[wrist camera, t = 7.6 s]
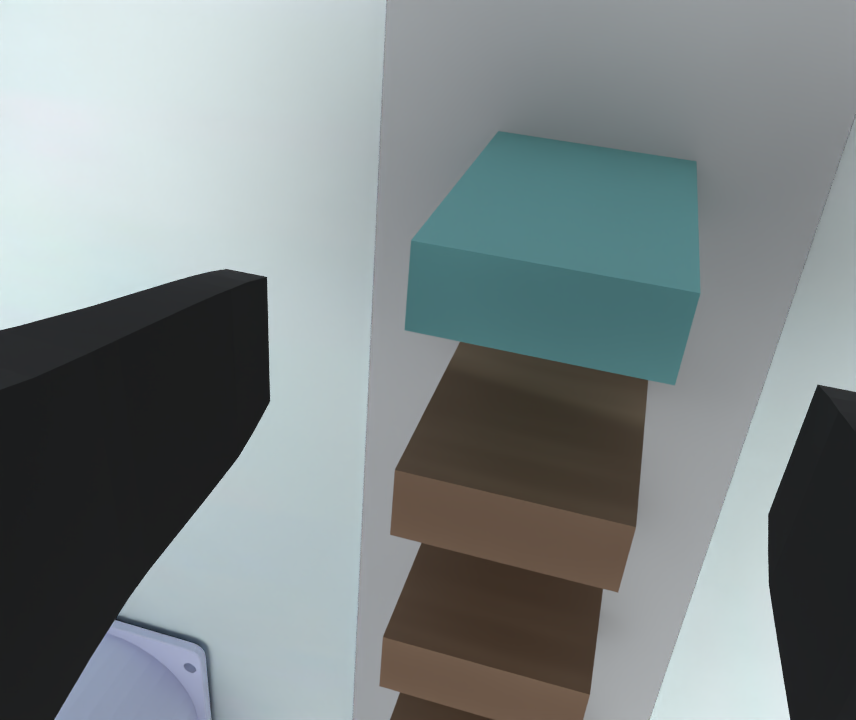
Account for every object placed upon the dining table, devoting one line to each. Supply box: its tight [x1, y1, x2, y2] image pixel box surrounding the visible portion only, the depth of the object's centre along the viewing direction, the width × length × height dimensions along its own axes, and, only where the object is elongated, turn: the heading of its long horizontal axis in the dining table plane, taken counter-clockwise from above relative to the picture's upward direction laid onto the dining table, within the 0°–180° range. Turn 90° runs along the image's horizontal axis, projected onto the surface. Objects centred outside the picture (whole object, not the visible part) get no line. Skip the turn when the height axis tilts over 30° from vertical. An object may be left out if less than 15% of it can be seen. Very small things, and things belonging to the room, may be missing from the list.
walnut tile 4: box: [390, 342, 648, 593], centre depth 18 cm, size 2×4×7 cm, turn 86°
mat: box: [353, 0, 856, 720], centre depth 23 cm, size 29×10×1 cm, turn 176°
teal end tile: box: [404, 131, 701, 385], centre depth 16 cm, size 2×4×7 cm, turn 86°
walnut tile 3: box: [379, 543, 603, 720], centre depth 20 cm, size 2×4×7 cm, turn 86°
